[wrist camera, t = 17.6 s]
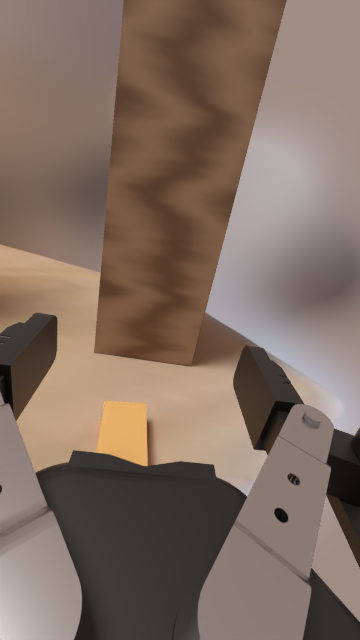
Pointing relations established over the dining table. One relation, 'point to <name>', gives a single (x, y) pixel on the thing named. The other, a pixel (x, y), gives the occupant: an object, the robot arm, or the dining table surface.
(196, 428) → the dining table surface
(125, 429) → the block
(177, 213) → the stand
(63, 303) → the dining table surface
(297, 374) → the dining table surface
